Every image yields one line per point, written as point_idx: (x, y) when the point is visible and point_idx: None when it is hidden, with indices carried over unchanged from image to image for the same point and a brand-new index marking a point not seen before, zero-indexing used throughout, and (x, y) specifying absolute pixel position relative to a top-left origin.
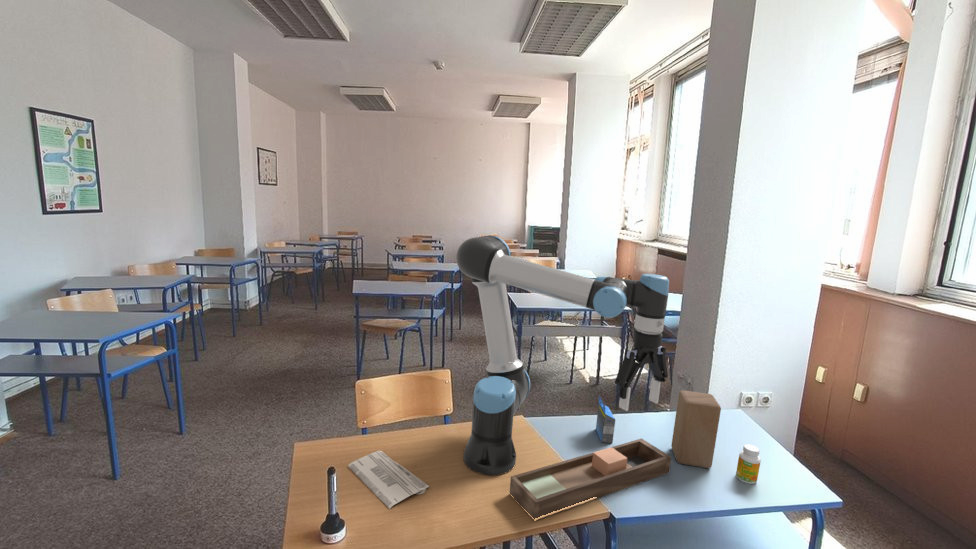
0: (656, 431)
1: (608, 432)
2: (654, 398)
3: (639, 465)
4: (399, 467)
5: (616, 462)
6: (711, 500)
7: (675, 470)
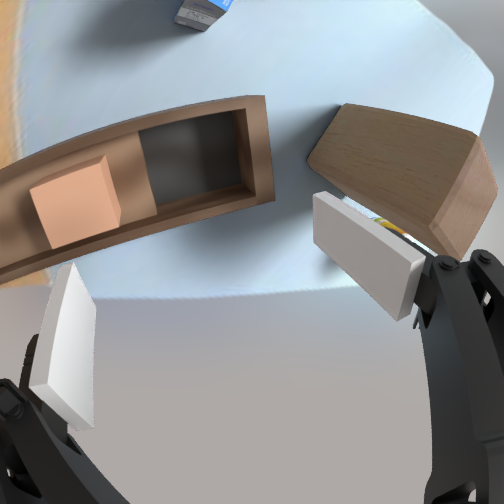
0: (361, 37)
1: (195, 18)
2: (327, 239)
3: (155, 225)
4: None
5: (78, 239)
6: (267, 276)
7: (279, 181)
